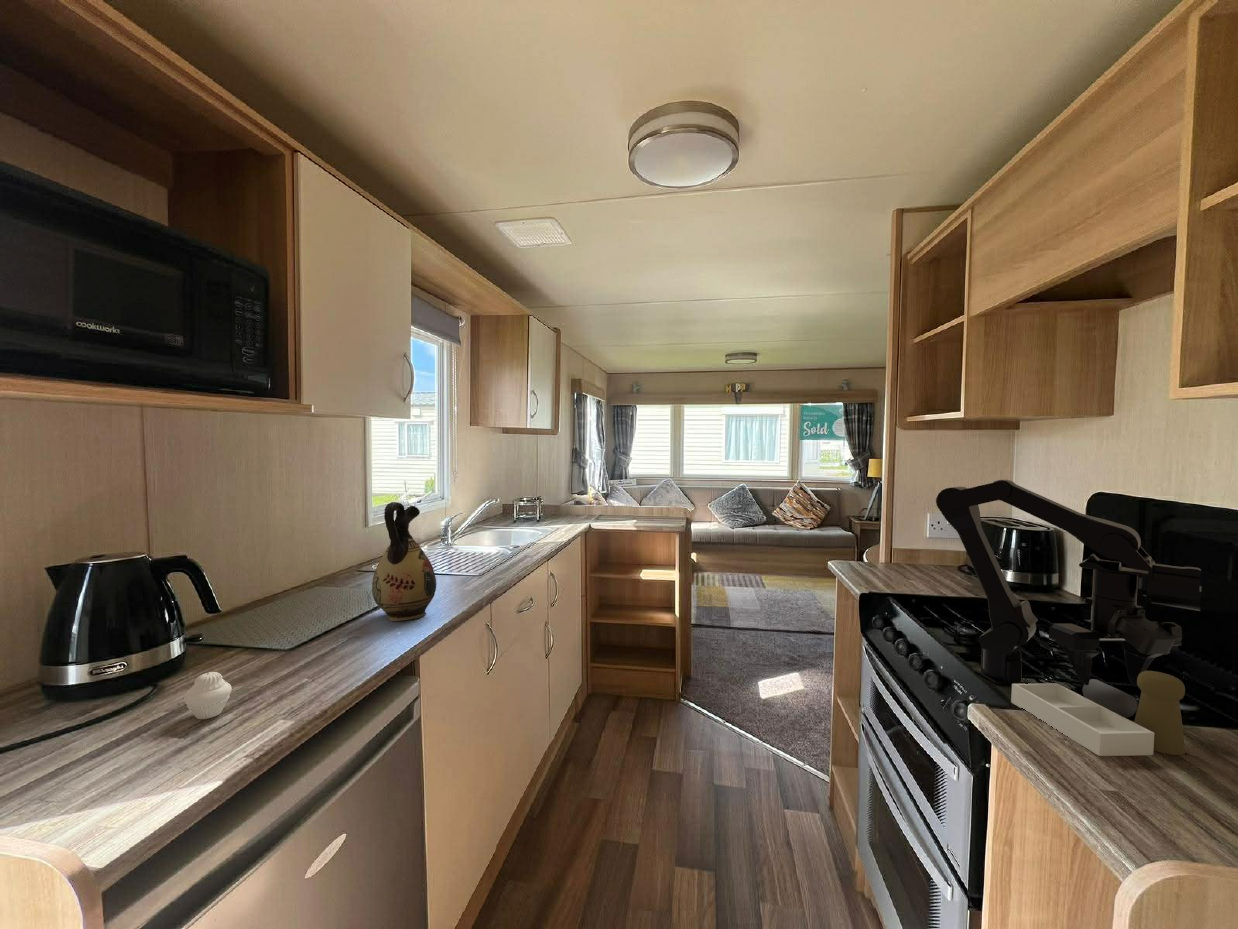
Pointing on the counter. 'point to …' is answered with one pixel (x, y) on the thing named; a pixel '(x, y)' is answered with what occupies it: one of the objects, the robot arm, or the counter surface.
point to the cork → (1161, 710)
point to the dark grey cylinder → (1110, 698)
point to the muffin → (208, 695)
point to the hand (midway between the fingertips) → (1109, 684)
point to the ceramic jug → (403, 569)
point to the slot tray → (1083, 720)
